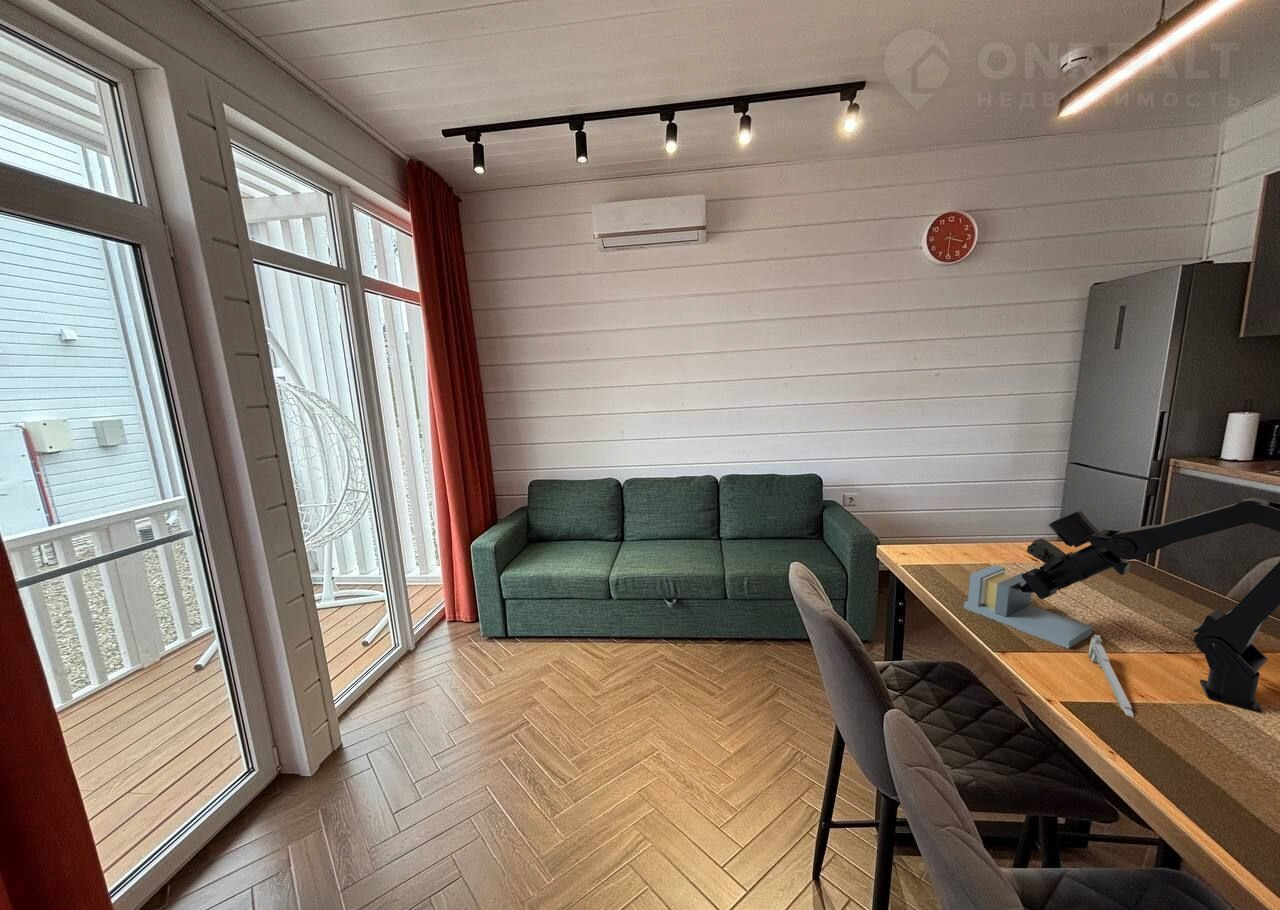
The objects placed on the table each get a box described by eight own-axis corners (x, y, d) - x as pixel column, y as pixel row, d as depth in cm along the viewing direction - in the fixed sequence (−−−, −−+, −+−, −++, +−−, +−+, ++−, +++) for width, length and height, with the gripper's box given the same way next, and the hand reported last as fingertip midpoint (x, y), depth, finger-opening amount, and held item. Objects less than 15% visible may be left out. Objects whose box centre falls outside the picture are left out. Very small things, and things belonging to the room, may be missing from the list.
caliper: (1087, 657, 103) (1091, 631, 102) (1094, 658, 103) (1097, 632, 101) (1126, 716, 85) (1130, 685, 84) (1134, 718, 85) (1139, 687, 84)
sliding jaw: (1030, 604, 122) (1033, 576, 120) (1006, 616, 116) (1009, 587, 115) (1017, 599, 124) (1020, 572, 123) (992, 611, 119) (995, 582, 117)
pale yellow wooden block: (1013, 602, 123) (1015, 577, 122) (997, 610, 120) (999, 584, 118) (1000, 598, 126) (1002, 573, 125) (984, 605, 122) (986, 580, 121)
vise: (1091, 634, 111) (1097, 595, 110) (1068, 649, 106) (1073, 608, 104) (988, 597, 130) (991, 563, 129) (963, 608, 125) (966, 573, 123)
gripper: (1074, 525, 115) (1016, 553, 126) (1036, 539, 106) (978, 568, 117) (1113, 567, 109) (1049, 592, 120) (1076, 585, 100) (1011, 611, 112)
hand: (1021, 590), depth 118 cm, fingers closed, pressing on sliding jaw
